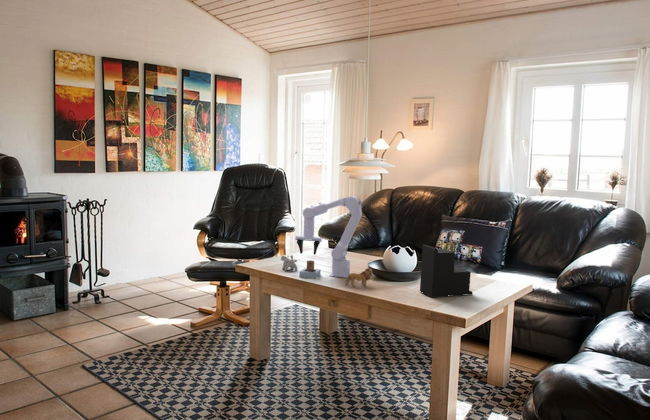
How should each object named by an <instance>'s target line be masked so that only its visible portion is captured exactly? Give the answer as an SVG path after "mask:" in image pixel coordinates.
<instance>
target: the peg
mask: <svg viewBox="0 0 650 420" xmlns="http://www.w3.org/2000/svg"><path fill="white" fill-rule="evenodd" d="M306 268H307V271H309V272H314V269H315V260H307V261H306Z"/></svg>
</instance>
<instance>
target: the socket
mask: <svg viewBox="0 0 650 420" xmlns="http://www.w3.org/2000/svg"><path fill="white" fill-rule="evenodd" d="M320 276H321V269H320V268H317V269H316V268H314V272H309V271H307V267H304V268H302V269H301V270H300V271H299V278H307V279H317V278H318V277H320Z"/></svg>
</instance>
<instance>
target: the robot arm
mask: <svg viewBox="0 0 650 420" xmlns="http://www.w3.org/2000/svg"><path fill="white" fill-rule="evenodd" d="M339 206H342V207H345V208H347V210H348V211H349V212H350V215H351V216H350V218H349V221H348V223H347V224H346V227H345V228H344V231H343V233H342V236H341V237H340V240H339V241H338V243H337V244H336V246H335V248H333V249H332V250H331V253H330V255H331V258H332V262H331V263H332V265H331V266H332V267H331V274H330V275H329V277H336V278H347V277H348V275H349V274H351V272H350V271H351V261H350V260H349V259H347V258H346V256H347V255H348V248H349V245H350V242H351V240H352V237H353V235H354V234H355V231H356V229H357V227H358V225H359V223H360V220H361V219H362V216H363V210H362V201H361V199H360V197H359V196H357V195H352V196H346V197H342V198H338V199H336V200H333V201H330V202H328V203H326V202H321V201H319V202H318V204H315V205H313V204H312V205H310V207H306V208H304V209H303V211H302V216H303V235H301V236H300V235H296V236H295V237H294V238H295V241H296V243H297V246H298V248H299V253H300V254H303V252H304V251H303V249H304V247H303V246H304V242H305V241H307V242H313V255H317V251H318V248H319V246H320V243H321V242H322V239H323V238H322V237H316V236H315V217H317V216H320V215H323V214H327V212H328V210H329V209H333V208H337V207H339Z"/></svg>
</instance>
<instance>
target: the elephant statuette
mask: <svg viewBox="0 0 650 420" xmlns="http://www.w3.org/2000/svg"><path fill="white" fill-rule="evenodd" d="M280 261H282V262H283V264H282V268H281V269H282V270H283V271H284V272H287V271H288V269H291V270H293V269H294V270H295V271H298V266H297V264H296V263H297V262H298V261H297V259H296V258H295V259H294V256H293V255H292V254H291V255H286V256H285V255H282V256H281V257H280Z"/></svg>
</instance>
